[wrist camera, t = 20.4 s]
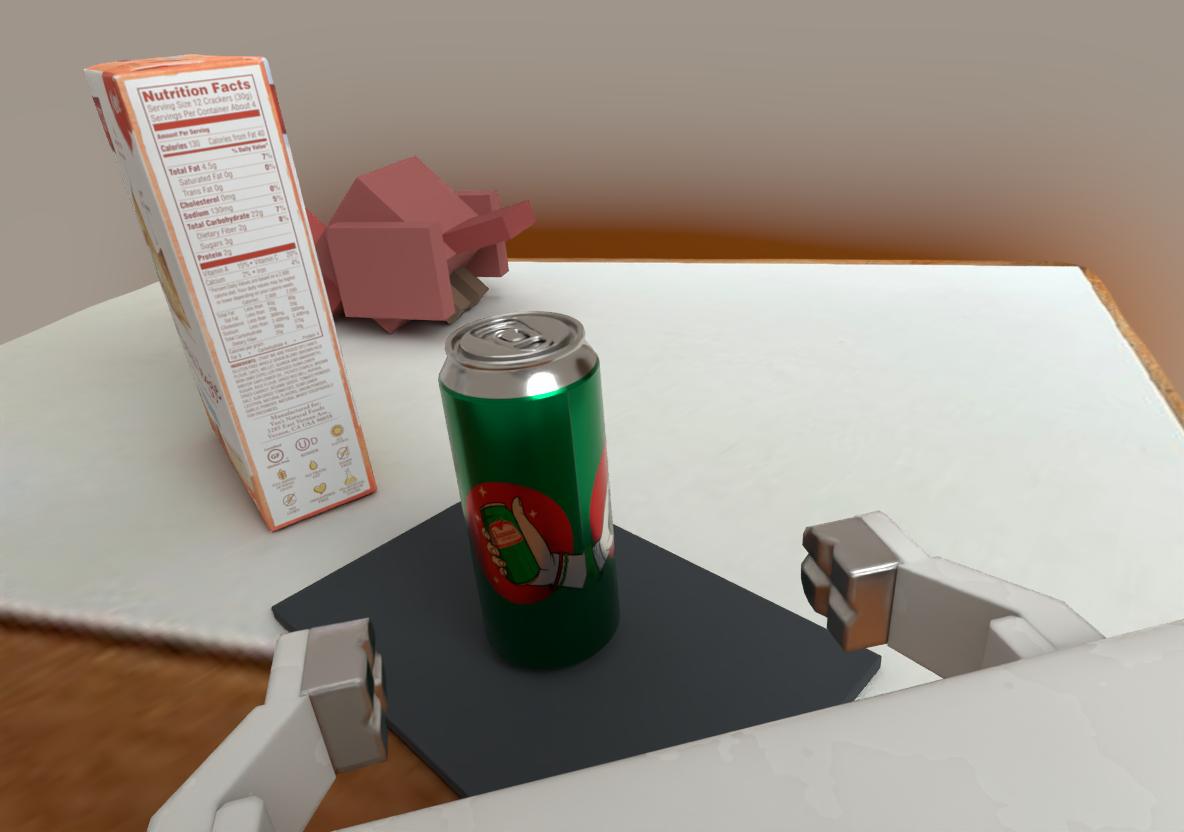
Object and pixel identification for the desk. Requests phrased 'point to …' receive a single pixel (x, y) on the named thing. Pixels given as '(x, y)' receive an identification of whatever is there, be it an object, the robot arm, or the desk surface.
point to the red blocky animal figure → (413, 246)
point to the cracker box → (239, 272)
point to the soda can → (534, 485)
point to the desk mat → (586, 691)
